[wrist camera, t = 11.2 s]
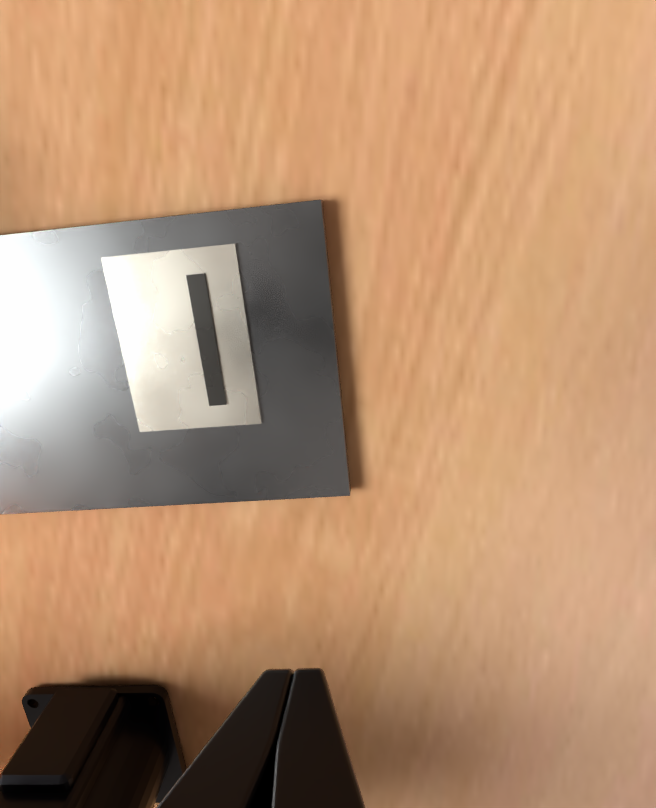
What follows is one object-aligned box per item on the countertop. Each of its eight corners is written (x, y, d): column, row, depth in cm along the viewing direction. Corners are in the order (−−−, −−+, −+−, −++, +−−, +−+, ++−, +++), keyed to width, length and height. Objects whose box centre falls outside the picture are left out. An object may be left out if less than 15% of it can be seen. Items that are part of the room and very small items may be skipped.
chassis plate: (350, 488, 20) (349, 497, 19) (-185, 518, 22) (-202, 527, 22) (322, 200, 17) (320, 199, 16) (-296, 269, 19) (-319, 270, 19)
